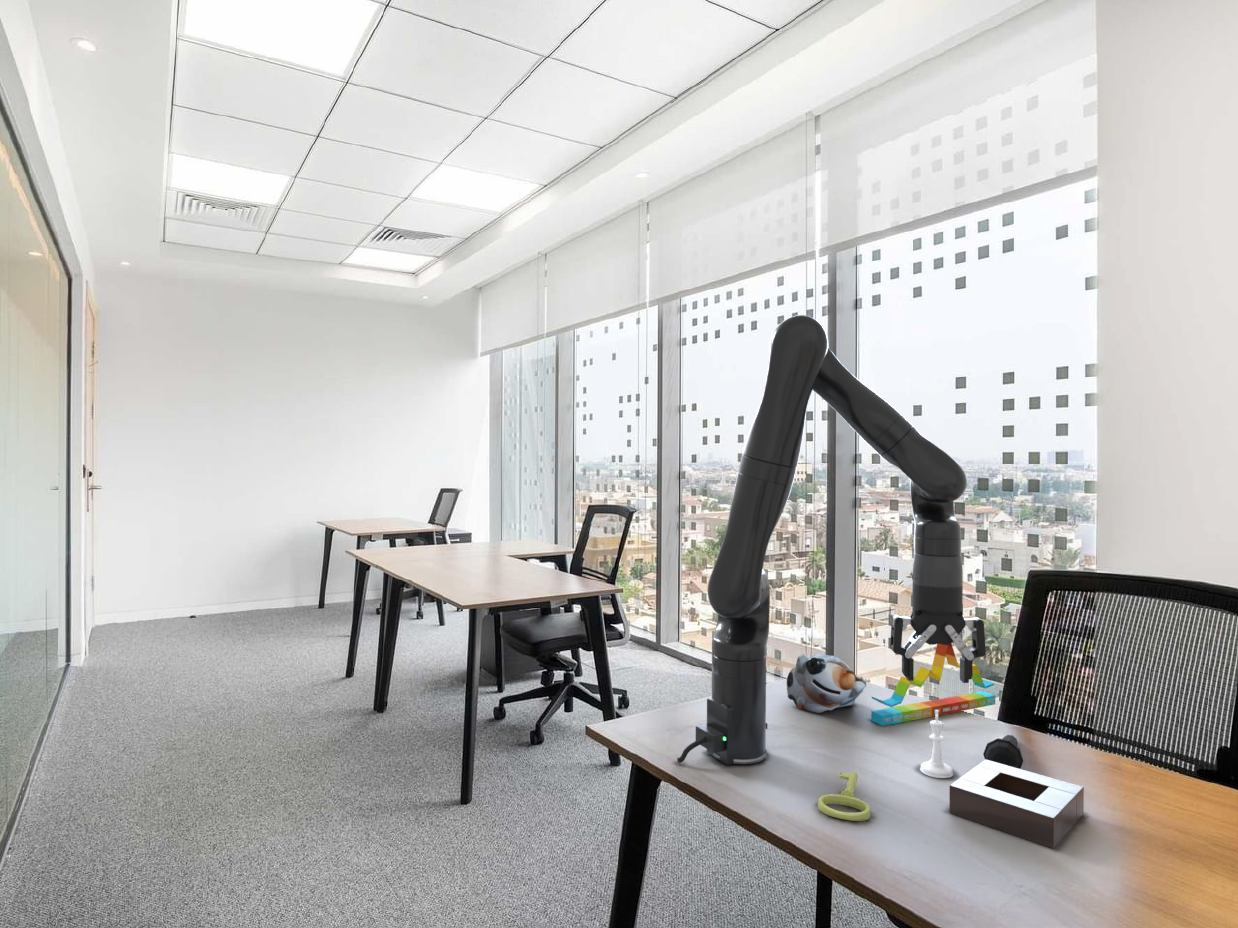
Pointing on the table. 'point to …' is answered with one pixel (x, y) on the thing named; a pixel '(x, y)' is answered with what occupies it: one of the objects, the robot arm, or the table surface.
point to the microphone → (1004, 752)
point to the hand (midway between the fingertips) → (936, 680)
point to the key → (845, 801)
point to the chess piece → (936, 754)
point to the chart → (929, 707)
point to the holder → (1017, 802)
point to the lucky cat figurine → (823, 683)
